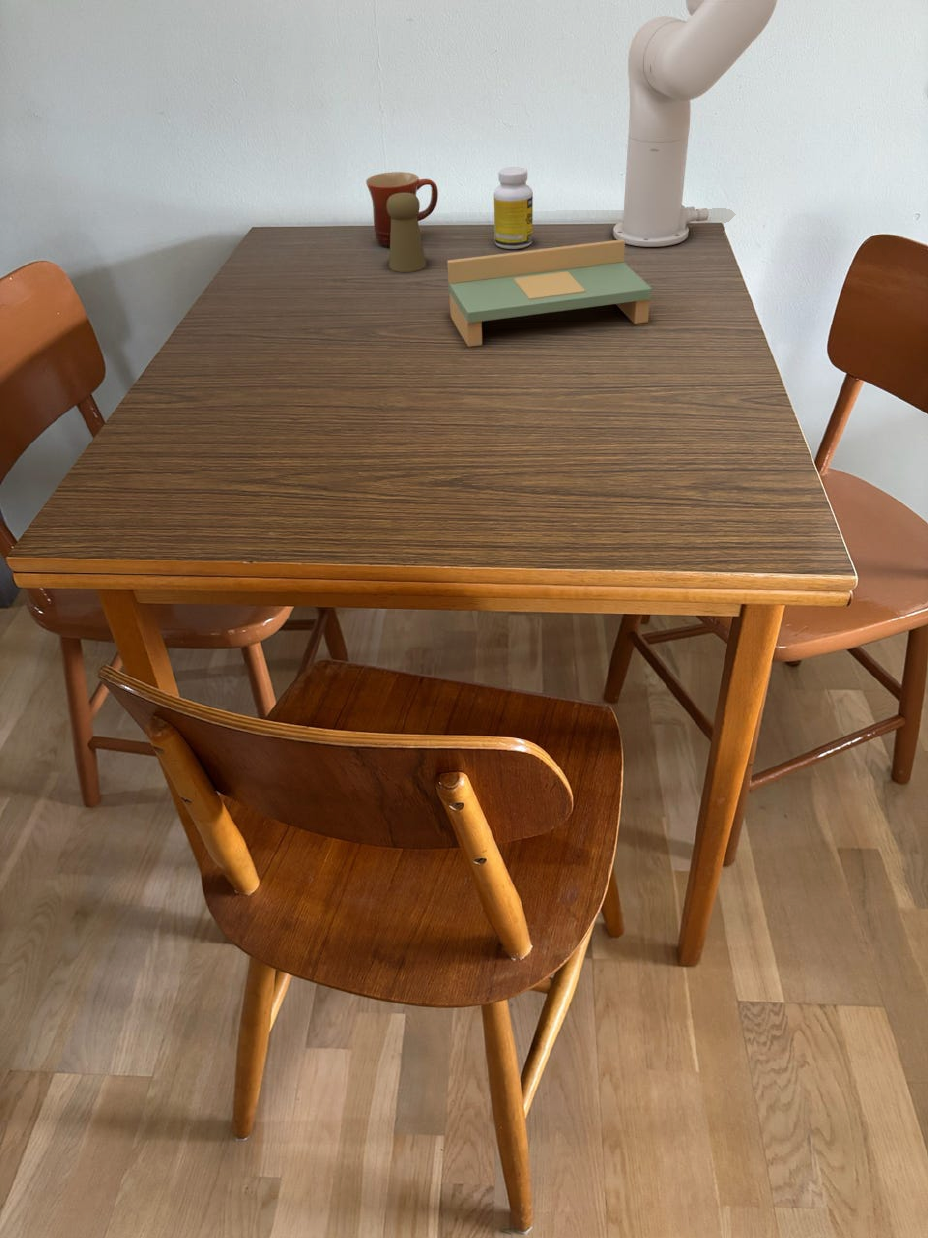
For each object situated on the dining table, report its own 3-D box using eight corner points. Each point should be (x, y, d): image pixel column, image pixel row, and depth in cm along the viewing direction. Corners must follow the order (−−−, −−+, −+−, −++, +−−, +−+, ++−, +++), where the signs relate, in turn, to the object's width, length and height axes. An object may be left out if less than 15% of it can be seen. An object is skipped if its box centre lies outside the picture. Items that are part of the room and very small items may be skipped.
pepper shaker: (421, 272, 153) (416, 200, 146) (385, 271, 154) (378, 199, 147) (430, 259, 158) (425, 188, 151) (394, 258, 159) (388, 188, 152)
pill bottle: (525, 251, 159) (526, 177, 151) (489, 248, 161) (487, 175, 153) (537, 239, 163) (537, 166, 156) (501, 236, 165) (500, 164, 158)
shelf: (619, 293, 143) (622, 238, 138) (649, 323, 134) (654, 266, 129) (450, 315, 139) (447, 260, 134) (468, 348, 130) (466, 290, 125)
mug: (379, 253, 161) (373, 189, 154) (366, 238, 167) (360, 175, 161) (447, 243, 164) (443, 179, 157) (432, 228, 170) (428, 167, 164)
